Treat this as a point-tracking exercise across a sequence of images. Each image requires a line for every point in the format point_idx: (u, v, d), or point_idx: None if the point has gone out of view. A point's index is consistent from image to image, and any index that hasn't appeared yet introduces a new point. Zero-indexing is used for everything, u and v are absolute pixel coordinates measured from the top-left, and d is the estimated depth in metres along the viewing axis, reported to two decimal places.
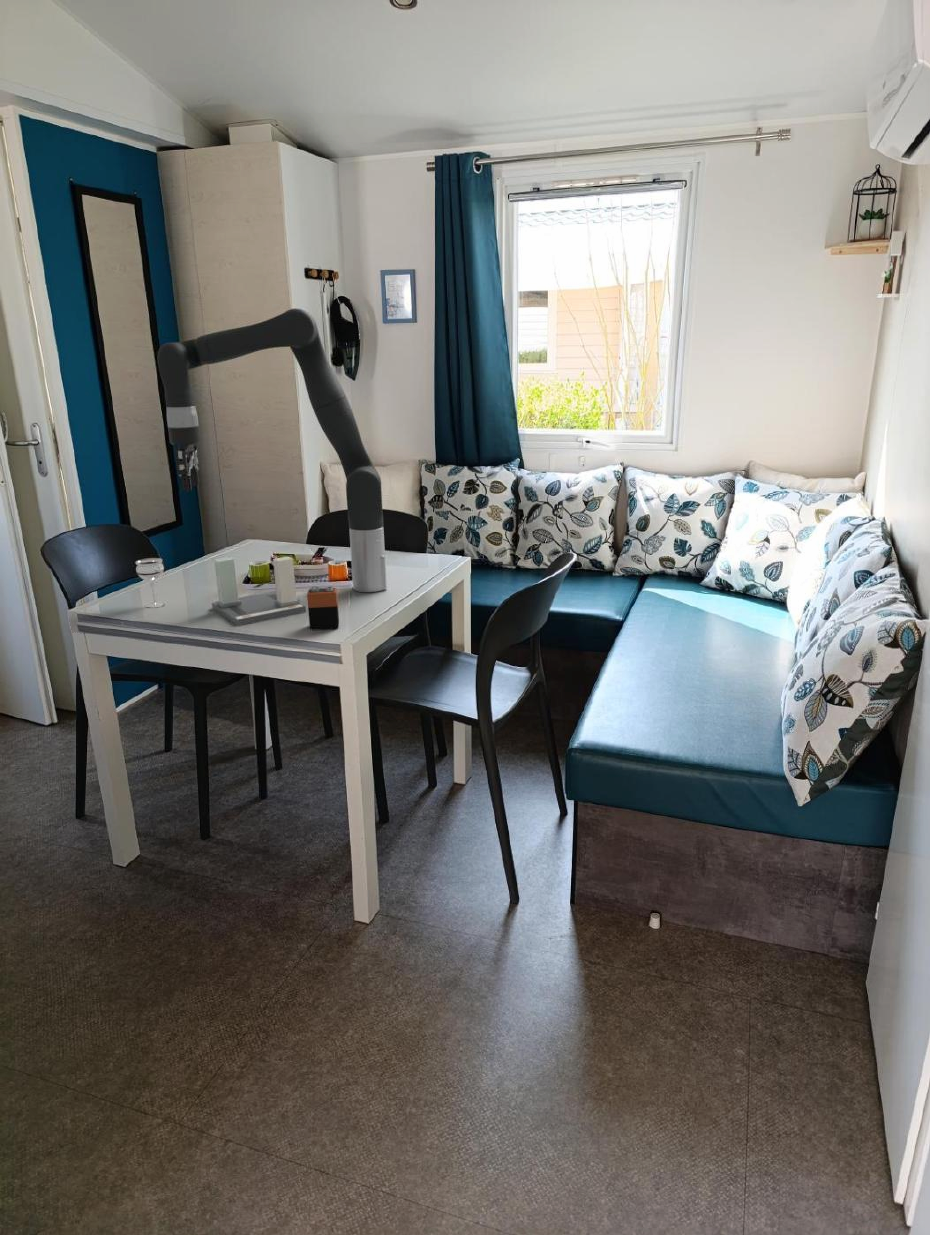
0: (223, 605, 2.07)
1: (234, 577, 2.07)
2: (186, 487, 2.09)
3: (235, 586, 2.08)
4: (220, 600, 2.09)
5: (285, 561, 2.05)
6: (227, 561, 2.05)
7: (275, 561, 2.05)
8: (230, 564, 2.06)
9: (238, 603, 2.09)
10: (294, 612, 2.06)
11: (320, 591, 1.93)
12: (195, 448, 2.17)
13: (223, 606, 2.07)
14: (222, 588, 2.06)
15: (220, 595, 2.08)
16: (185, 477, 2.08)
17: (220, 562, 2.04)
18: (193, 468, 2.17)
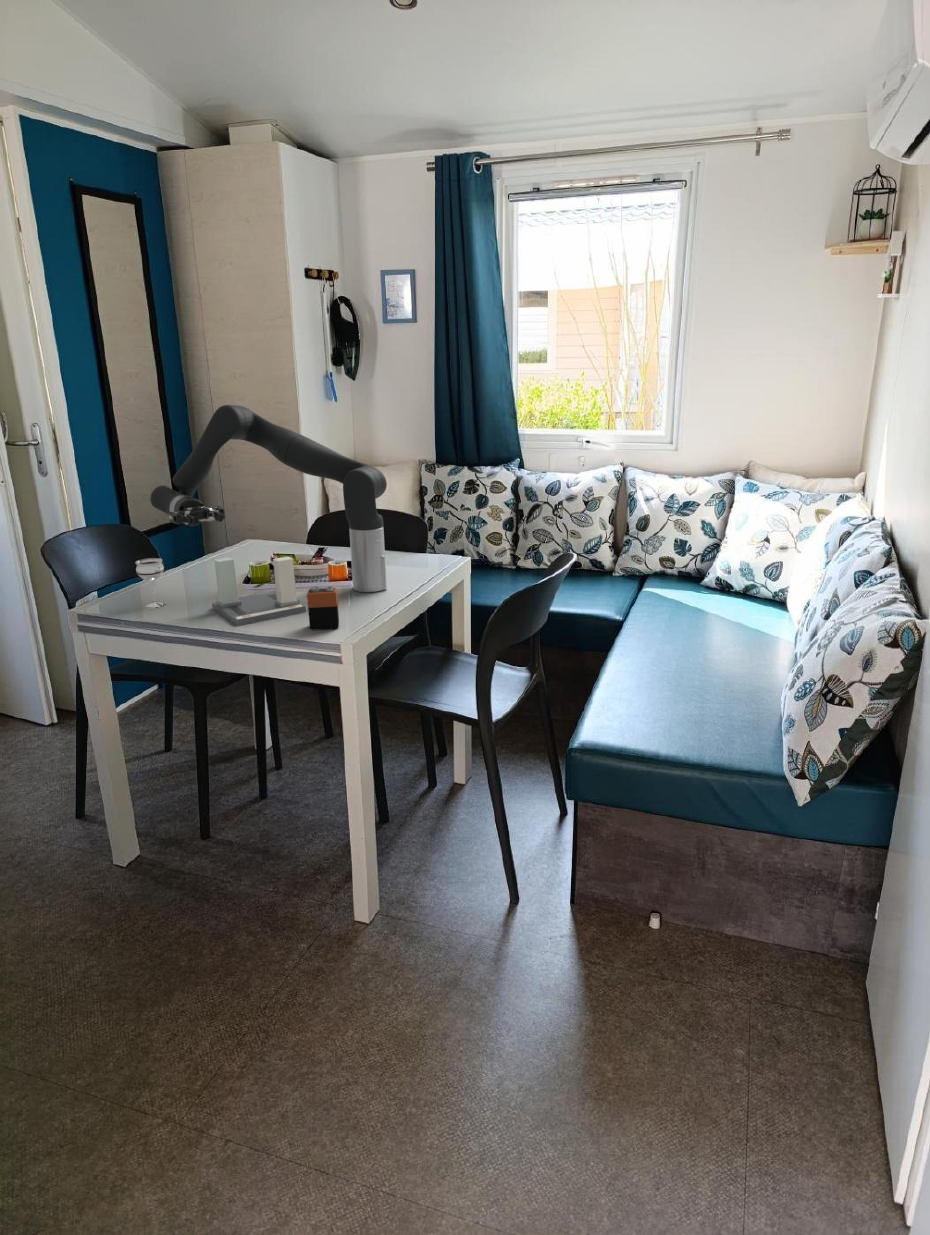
0: (223, 605, 2.07)
1: (234, 577, 2.07)
2: (188, 520, 2.09)
3: (235, 586, 2.08)
4: (220, 600, 2.09)
5: (285, 561, 2.05)
6: (227, 561, 2.05)
7: (275, 561, 2.05)
8: (230, 564, 2.06)
9: (238, 603, 2.09)
10: (294, 612, 2.06)
11: (320, 591, 1.93)
12: None
13: (223, 606, 2.07)
14: (222, 588, 2.06)
15: (220, 595, 2.08)
16: (185, 518, 2.11)
17: (220, 562, 2.04)
18: (214, 514, 2.16)
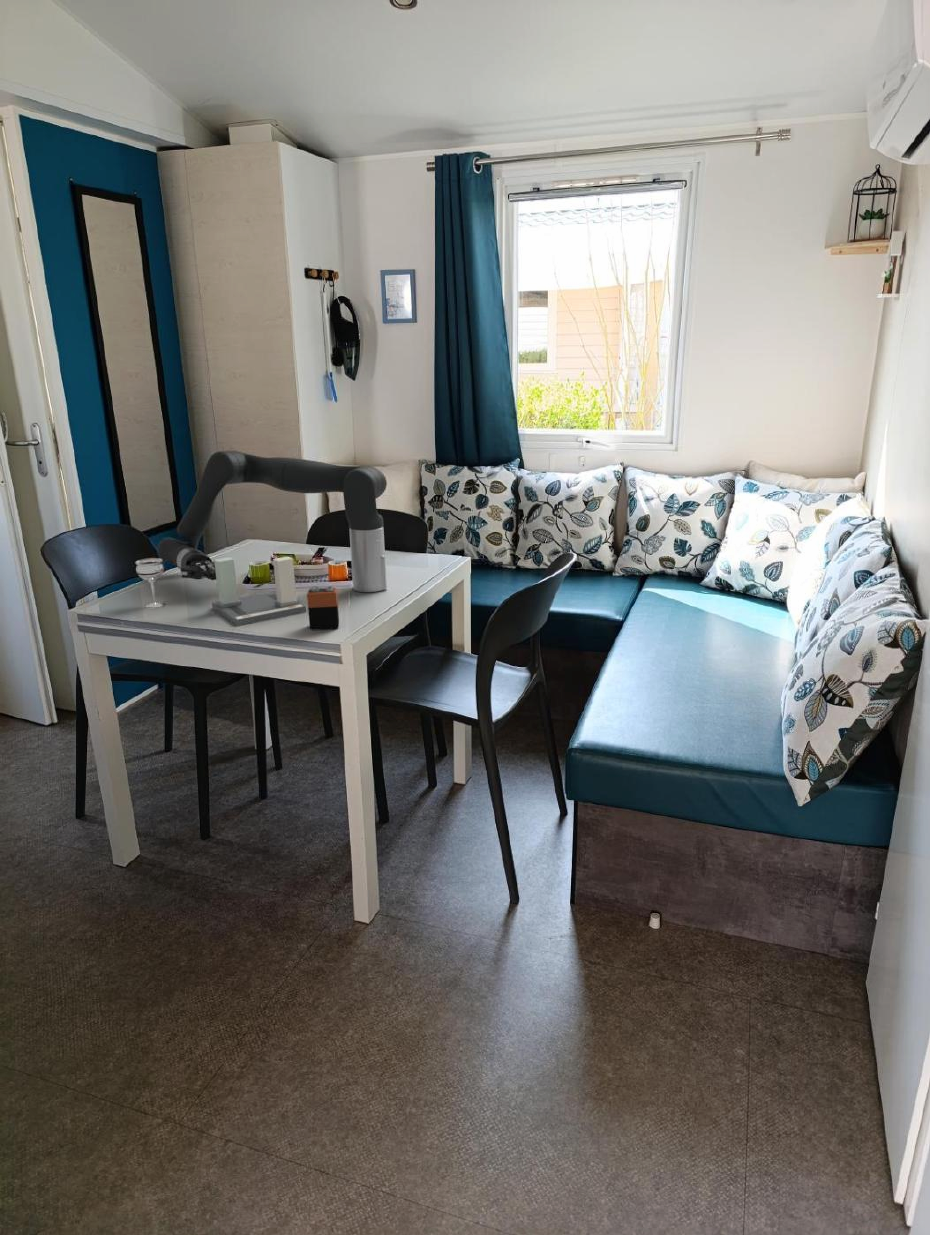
0: (223, 605, 2.07)
1: (234, 577, 2.07)
2: (208, 575, 2.15)
3: (235, 586, 2.08)
4: (220, 600, 2.09)
5: (285, 561, 2.05)
6: (227, 561, 2.05)
7: (275, 561, 2.05)
8: (230, 564, 2.06)
9: (238, 603, 2.09)
10: (294, 612, 2.06)
11: (320, 591, 1.93)
12: None
13: (223, 606, 2.07)
14: (222, 588, 2.06)
15: (220, 595, 2.08)
16: (204, 573, 2.17)
17: (220, 562, 2.04)
18: None
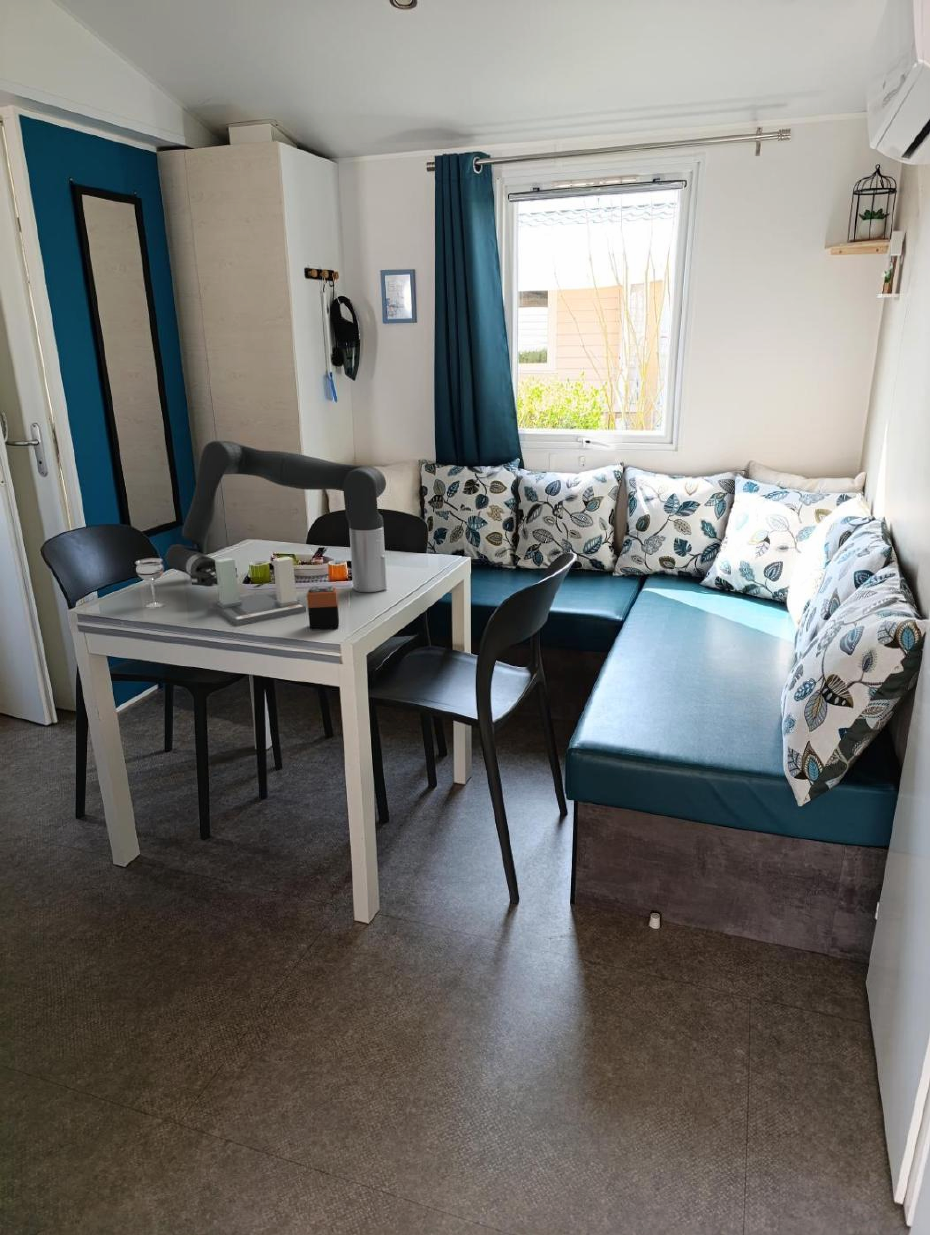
0: (224, 605, 2.07)
1: (235, 577, 2.07)
2: None
3: (236, 586, 2.08)
4: (221, 600, 2.08)
5: (285, 561, 2.05)
6: (228, 561, 2.05)
7: (275, 561, 2.05)
8: (230, 564, 2.05)
9: (239, 603, 2.09)
10: (294, 612, 2.06)
11: (320, 591, 1.93)
12: None
13: (224, 606, 2.07)
14: (223, 588, 2.06)
15: (221, 595, 2.07)
16: (215, 580, 2.11)
17: (221, 562, 2.04)
18: None
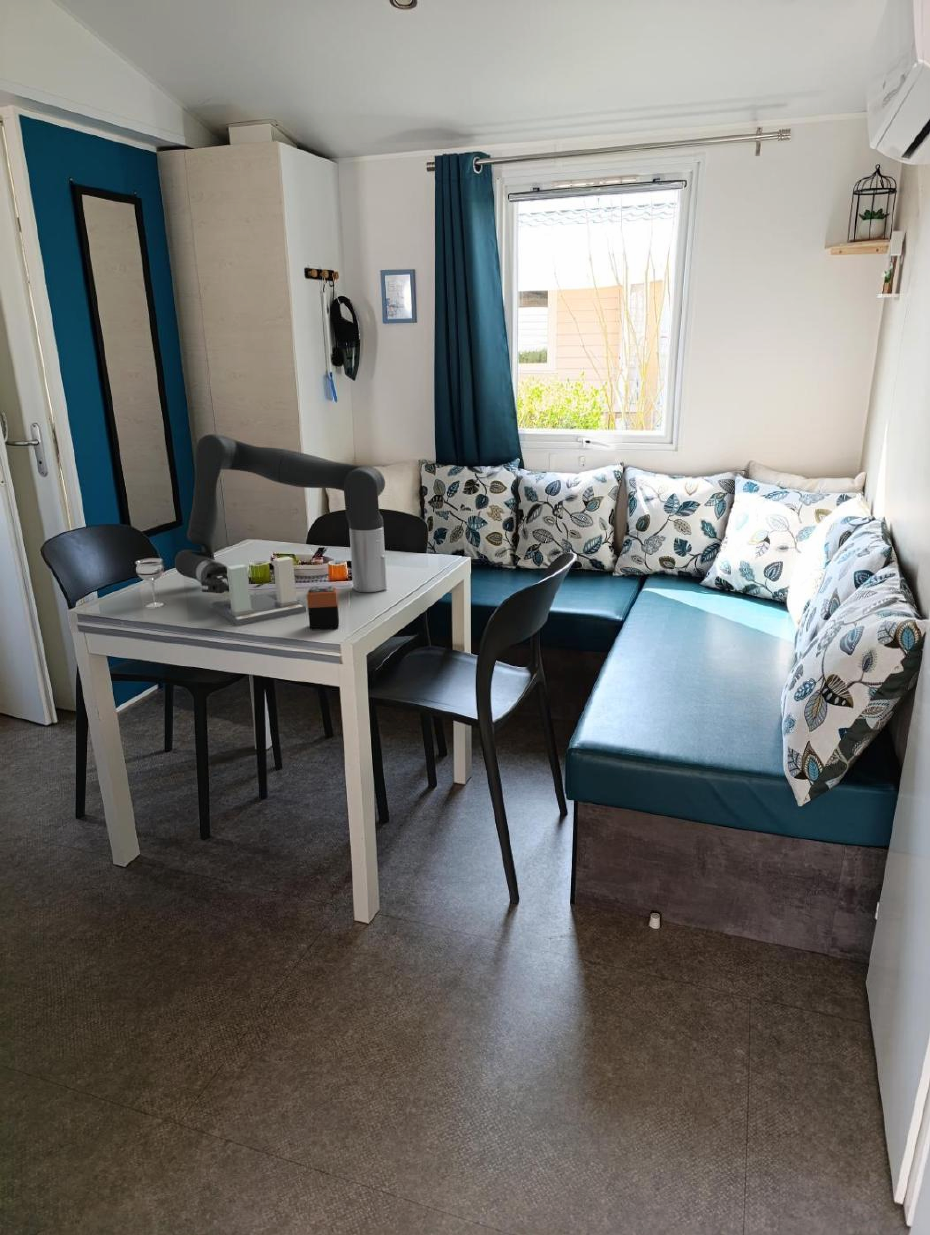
0: (236, 614, 2.00)
1: (247, 585, 2.00)
2: None
3: (248, 594, 2.01)
4: (233, 609, 2.02)
5: (285, 561, 2.05)
6: (240, 568, 1.98)
7: (275, 561, 2.05)
8: (243, 571, 1.99)
9: (251, 612, 2.02)
10: (294, 612, 2.06)
11: (320, 591, 1.93)
12: None
13: (236, 615, 2.00)
14: (235, 596, 1.99)
15: (233, 603, 2.01)
16: (227, 587, 2.04)
17: (233, 569, 1.97)
18: None
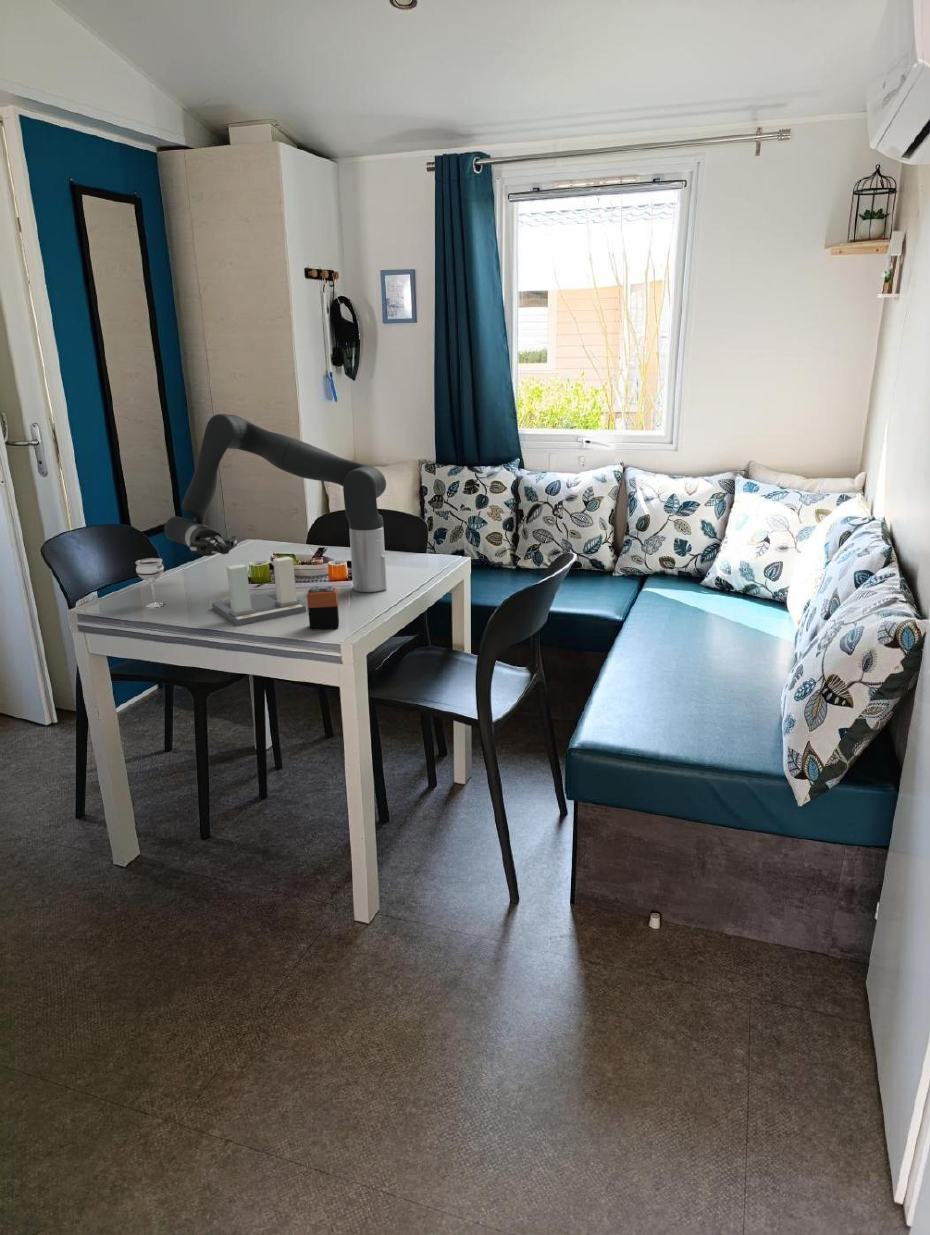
0: (236, 614, 2.00)
1: (247, 585, 2.00)
2: (218, 549, 2.07)
3: (248, 594, 2.01)
4: (232, 608, 2.02)
5: (285, 561, 2.05)
6: (240, 568, 1.98)
7: (275, 561, 2.05)
8: (243, 571, 1.99)
9: (251, 612, 2.02)
10: (294, 612, 2.06)
11: (320, 591, 1.93)
12: None
13: (236, 615, 2.00)
14: (235, 596, 1.99)
15: (232, 603, 2.01)
16: (215, 547, 2.09)
17: (233, 569, 1.97)
18: None
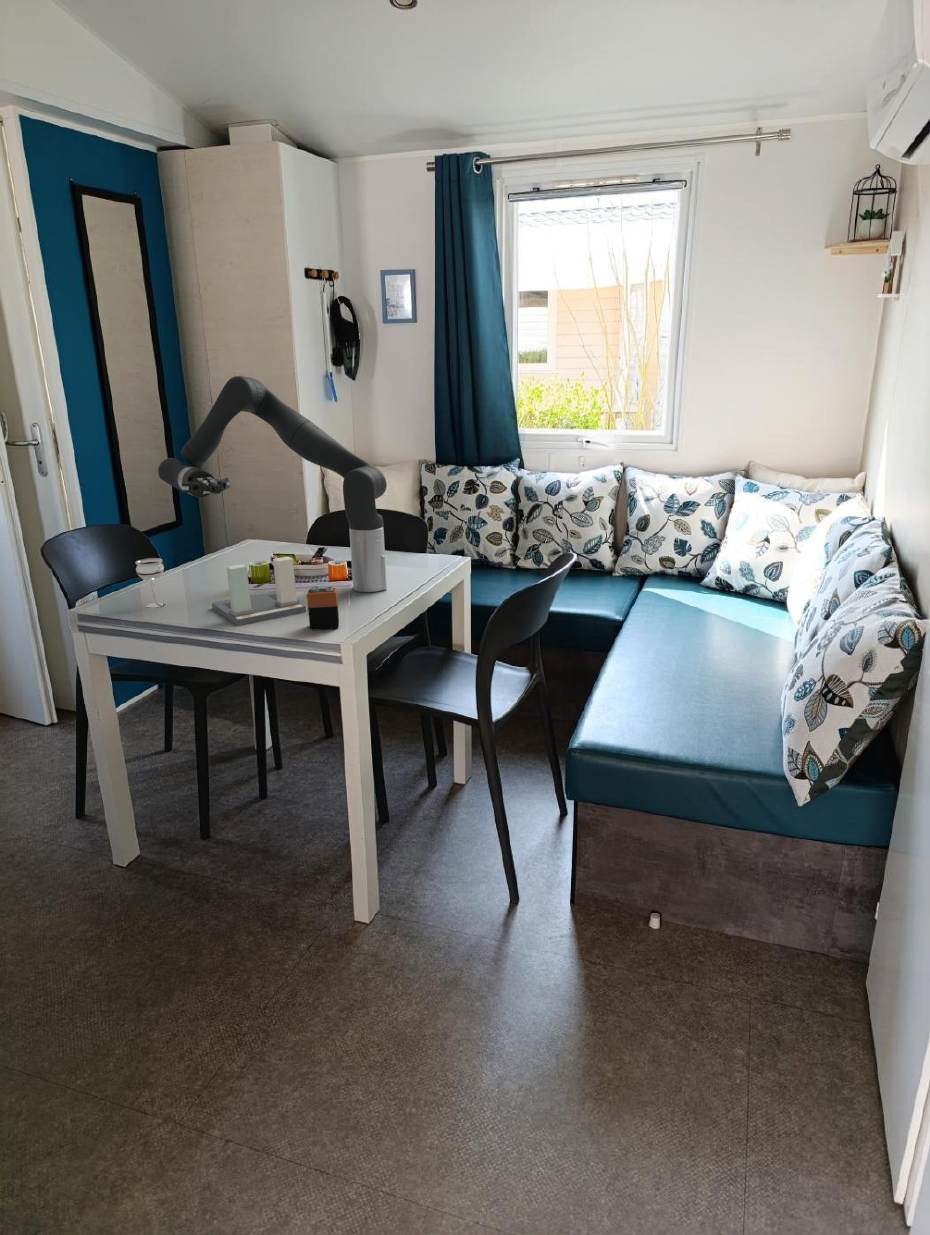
0: (236, 614, 2.00)
1: (247, 585, 2.00)
2: (210, 489, 2.07)
3: (248, 594, 2.01)
4: (232, 608, 2.02)
5: (285, 561, 2.05)
6: (240, 568, 1.98)
7: (275, 561, 2.05)
8: (243, 571, 1.99)
9: (251, 612, 2.02)
10: (294, 612, 2.06)
11: (320, 591, 1.93)
12: None
13: (236, 615, 2.00)
14: (235, 596, 1.99)
15: (232, 603, 2.01)
16: (207, 487, 2.09)
17: (233, 569, 1.97)
18: None
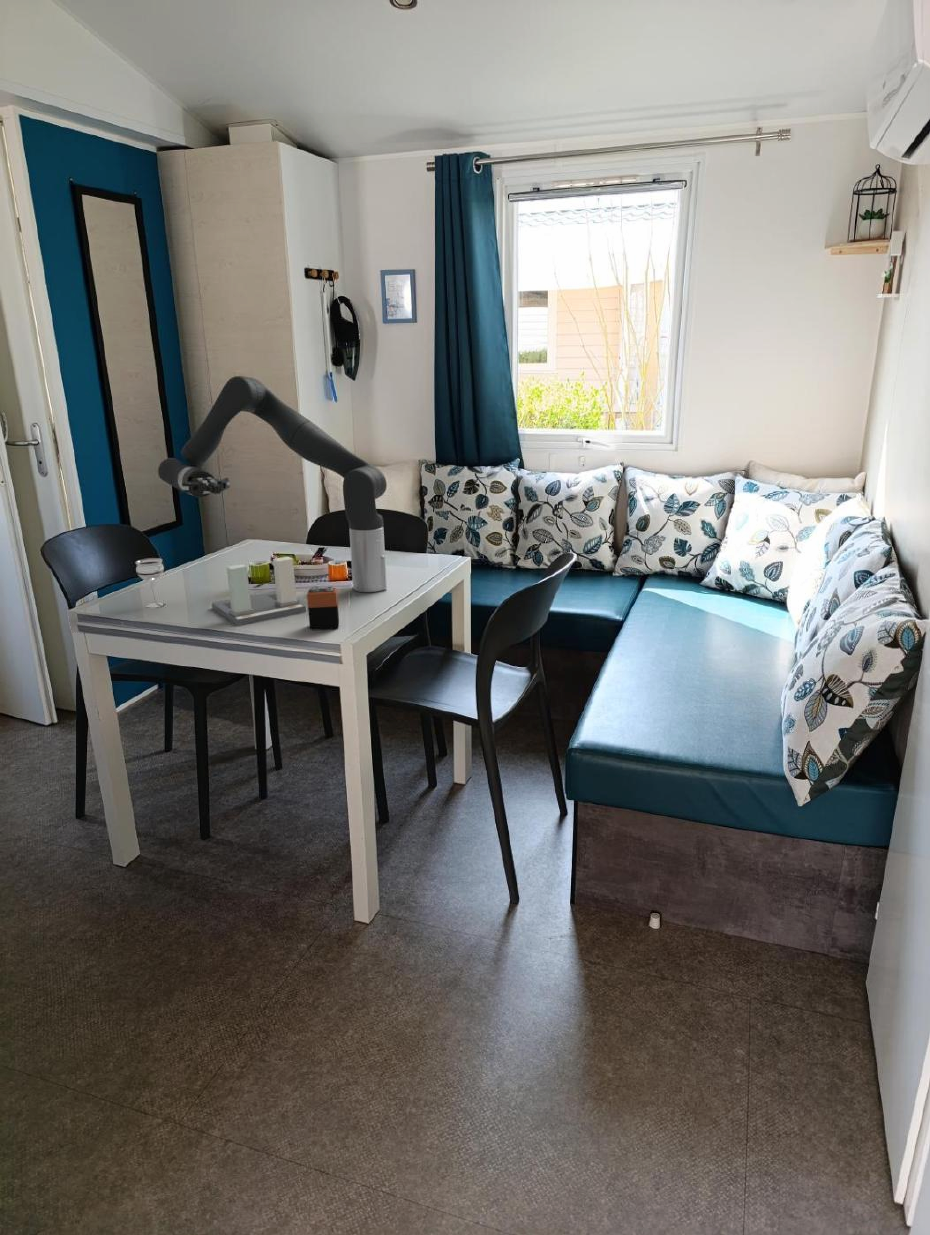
0: (236, 614, 2.00)
1: (247, 585, 2.00)
2: (210, 489, 2.07)
3: (248, 594, 2.01)
4: (232, 608, 2.02)
5: (285, 561, 2.05)
6: (240, 568, 1.98)
7: (275, 561, 2.05)
8: (243, 571, 1.99)
9: (251, 612, 2.02)
10: (294, 612, 2.06)
11: (320, 591, 1.93)
12: None
13: (236, 615, 2.00)
14: (235, 596, 1.99)
15: (232, 603, 2.01)
16: (207, 487, 2.09)
17: (233, 569, 1.97)
18: None
